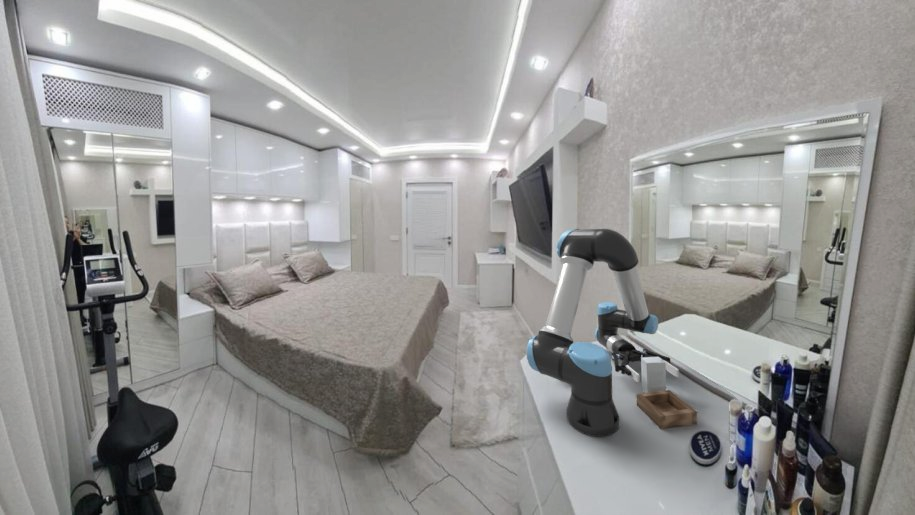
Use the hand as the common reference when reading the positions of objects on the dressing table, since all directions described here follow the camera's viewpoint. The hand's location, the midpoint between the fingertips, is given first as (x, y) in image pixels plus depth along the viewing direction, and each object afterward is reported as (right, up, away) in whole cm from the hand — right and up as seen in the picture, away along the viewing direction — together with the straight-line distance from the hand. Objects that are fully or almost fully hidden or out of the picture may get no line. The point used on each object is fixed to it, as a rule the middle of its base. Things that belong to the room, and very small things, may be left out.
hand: (658, 376), depth 103 cm
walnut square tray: (-3, -9, -8) cm, 12 cm away
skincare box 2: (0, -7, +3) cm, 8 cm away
